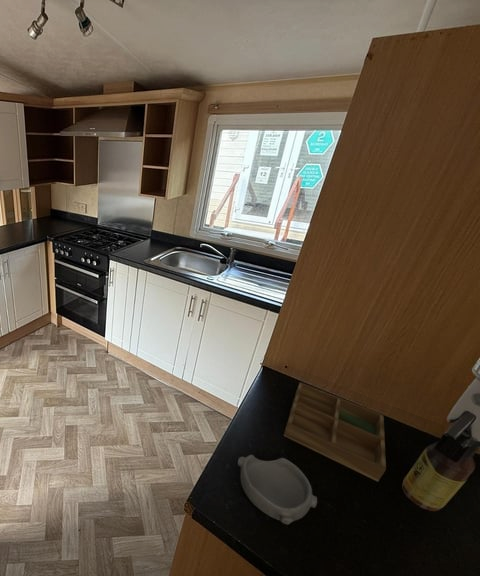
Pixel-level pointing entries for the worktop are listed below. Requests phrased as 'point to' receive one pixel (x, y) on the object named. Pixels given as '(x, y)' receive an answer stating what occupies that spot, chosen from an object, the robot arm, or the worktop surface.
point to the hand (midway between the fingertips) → (454, 449)
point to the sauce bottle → (438, 476)
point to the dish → (276, 488)
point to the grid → (338, 430)
